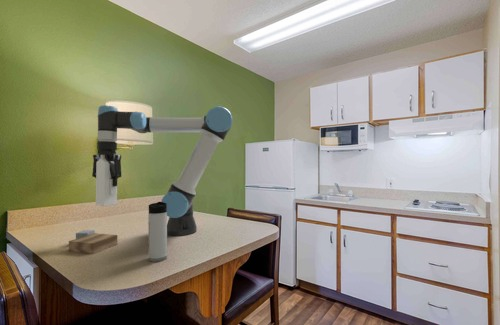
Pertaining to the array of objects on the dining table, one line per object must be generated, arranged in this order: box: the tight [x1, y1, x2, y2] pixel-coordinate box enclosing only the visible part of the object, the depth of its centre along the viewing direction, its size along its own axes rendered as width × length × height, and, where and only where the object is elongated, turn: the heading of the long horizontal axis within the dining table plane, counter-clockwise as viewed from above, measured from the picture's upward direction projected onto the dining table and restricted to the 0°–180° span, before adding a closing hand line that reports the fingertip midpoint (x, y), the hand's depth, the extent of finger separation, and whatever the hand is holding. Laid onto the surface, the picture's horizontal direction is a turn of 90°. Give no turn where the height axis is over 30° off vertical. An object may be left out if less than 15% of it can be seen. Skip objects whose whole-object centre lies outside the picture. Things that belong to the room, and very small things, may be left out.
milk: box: [95, 155, 118, 207], centre depth 112 cm, size 6×6×22 cm
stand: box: [68, 232, 118, 255], centre depth 104 cm, size 12×12×4 cm
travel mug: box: [147, 201, 168, 263], centre depth 91 cm, size 6×7×20 cm
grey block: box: [75, 229, 96, 239], centre depth 110 cm, size 5×5×5 cm
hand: (106, 193), depth 111 cm, fingers closed on milk, 7 cm apart
